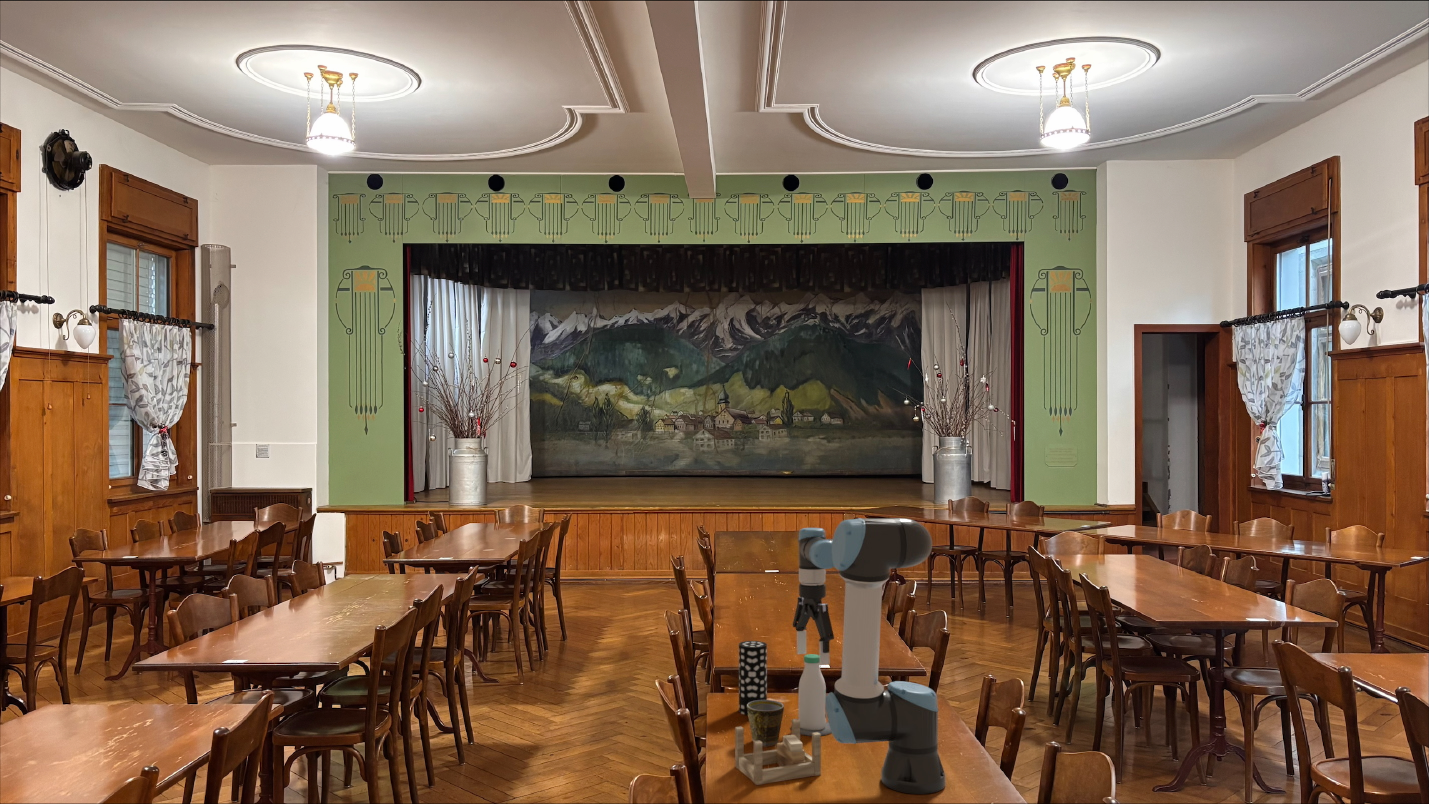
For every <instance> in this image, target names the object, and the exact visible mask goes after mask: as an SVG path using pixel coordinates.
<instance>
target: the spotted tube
mask: <svg viewBox="0 0 1429 804" xmlns="http://www.w3.org/2000/svg"><path fill="white" fill-rule="evenodd" d="M767 647H768V644H767V643H766V642H764V641H761V640H760V641H759V640H758V641H757V640H747V641H746V640H745V641H741V642H739V643H738V712H739V713H740V714H741V715H746V716H748V711H747V704H748V703H750V702H752V701H757V700H768V692H767V691H768V668H767V667H768V663H767V662H768V659H767V658H768V651H767V650H768V649H767Z"/></svg>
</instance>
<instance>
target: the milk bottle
mask: <svg viewBox="0 0 1429 804" xmlns="http://www.w3.org/2000/svg"><path fill="white" fill-rule="evenodd" d="M803 663H804V668H803V671H802V674H801V676H800V679H799V683H798V720H800V728H802V729H805V730H812V731H815V730H822V729H824V728H825V727H826V722H827V712H826V696H827V687H826V682H825V678H824V676H823V674H822V671H821V667H820V666H821V665H820V662H819V654H816V653H813V654H812V653H810V654H804V656H803Z"/></svg>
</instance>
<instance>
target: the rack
mask: <svg viewBox="0 0 1429 804" xmlns="http://www.w3.org/2000/svg"><path fill="white" fill-rule="evenodd" d="M791 726H792V729H791V735H795V736H796V737H797V738H798V739H799V740H800V741H801V734H800V720H799V718H793V719H791ZM734 731H735V733H734V735H735V739H734V741H735V746H734V747H735V748H734V751H735V752H734V753H735V754H734V756H735V757H734V758H735V759H734V761H735V762H734V765H735V766H734V767H735V768H736V770H738V771H740V772H741V773H742V774H744V776H746V777H747V778H749V780H750V781H752V783H753V784H755V785H756V786H761V785H764V784H771V783H776V782H777V783H778V782H782V781H789V780H795V779H802V778H808V777H813V776H814V777H816V776H821V775H822V757H821V756H822V754H821V753H822V749H821V747H822V736H821V734H820V733H818V732H815V733H812V736H811V754H808V752H806V751H805V761H806V763H800V764H794V765H787V766H777V767H776V766H775V767H769V768H764V769H763V766H766V765H772V764H778V753H777V748H776V749H770V750H763V746H762V742H761V741H760V740H758V741H754V742H753V752H750V753H749V752H748V753H745V751H744V748H745V746H744V742H745V740H744V739H745V737H744V736H745V735H744V734H745V733H744V727H742V726H741V725H740V726H735V727H734Z"/></svg>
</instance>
